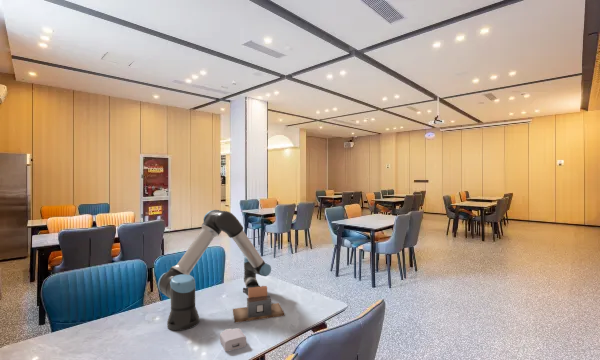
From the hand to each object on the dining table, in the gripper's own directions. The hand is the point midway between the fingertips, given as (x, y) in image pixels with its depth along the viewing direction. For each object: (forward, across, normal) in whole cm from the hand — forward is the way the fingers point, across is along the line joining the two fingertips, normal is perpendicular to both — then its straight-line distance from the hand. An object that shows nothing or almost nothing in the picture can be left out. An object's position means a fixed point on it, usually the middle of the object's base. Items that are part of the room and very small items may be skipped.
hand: (257, 299), depth 169 cm
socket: (+7, 0, -6) cm, 9 cm away
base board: (+3, 0, -7) cm, 7 cm away
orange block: (+5, 0, -5) cm, 7 cm away
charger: (+28, +16, -8) cm, 33 cm away
